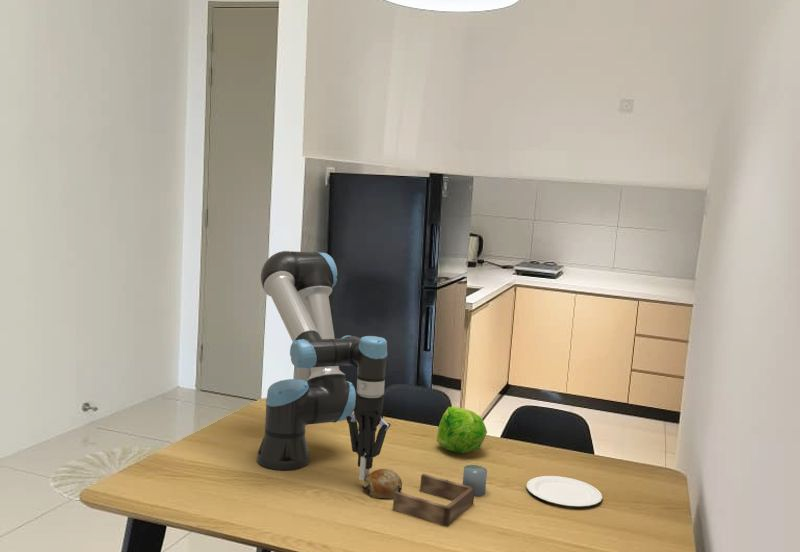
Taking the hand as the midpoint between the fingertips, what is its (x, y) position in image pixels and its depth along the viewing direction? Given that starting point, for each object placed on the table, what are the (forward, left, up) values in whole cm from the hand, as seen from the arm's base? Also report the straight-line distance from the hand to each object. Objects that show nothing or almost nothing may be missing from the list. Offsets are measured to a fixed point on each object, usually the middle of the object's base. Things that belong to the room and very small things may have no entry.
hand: (364, 479), depth 195 cm
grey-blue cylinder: (+26, +16, -2) cm, 30 cm away
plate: (+47, +31, -3) cm, 56 cm away
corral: (+21, 0, -2) cm, 21 cm away
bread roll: (+6, 0, -2) cm, 6 cm away
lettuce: (+9, +45, -2) cm, 46 cm away
